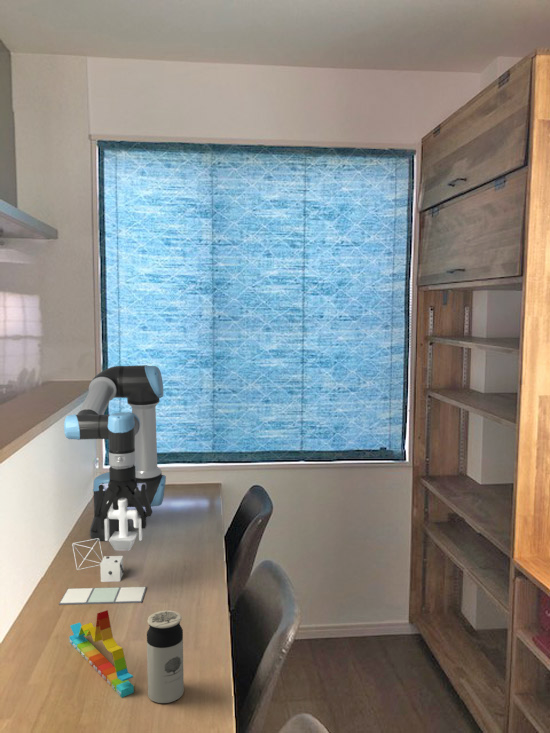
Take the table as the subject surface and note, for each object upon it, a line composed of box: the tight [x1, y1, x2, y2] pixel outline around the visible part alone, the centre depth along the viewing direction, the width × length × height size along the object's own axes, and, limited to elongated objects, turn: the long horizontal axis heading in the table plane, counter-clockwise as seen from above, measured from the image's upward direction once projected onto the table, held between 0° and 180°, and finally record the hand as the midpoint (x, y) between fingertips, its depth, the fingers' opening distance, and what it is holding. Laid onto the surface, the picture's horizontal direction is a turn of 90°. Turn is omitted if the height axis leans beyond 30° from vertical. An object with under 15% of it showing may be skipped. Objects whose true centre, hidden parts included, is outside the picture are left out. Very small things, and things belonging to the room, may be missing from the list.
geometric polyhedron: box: [71, 538, 104, 571], centre depth 219 cm, size 10×9×8 cm
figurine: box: [107, 498, 140, 552], centre depth 194 cm, size 7×9×15 cm
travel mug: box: [146, 609, 185, 704], centre depth 147 cm, size 8×8×18 cm
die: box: [99, 555, 125, 583], centre depth 208 cm, size 6×6×6 cm
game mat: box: [58, 586, 147, 606], centre depth 196 cm, size 10×24×1 cm, turn 93°
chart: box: [69, 609, 134, 698], centre depth 158 cm, size 30×3×15 cm, turn 39°
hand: (124, 539), depth 194 cm, fingers closed on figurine, 9 cm apart
